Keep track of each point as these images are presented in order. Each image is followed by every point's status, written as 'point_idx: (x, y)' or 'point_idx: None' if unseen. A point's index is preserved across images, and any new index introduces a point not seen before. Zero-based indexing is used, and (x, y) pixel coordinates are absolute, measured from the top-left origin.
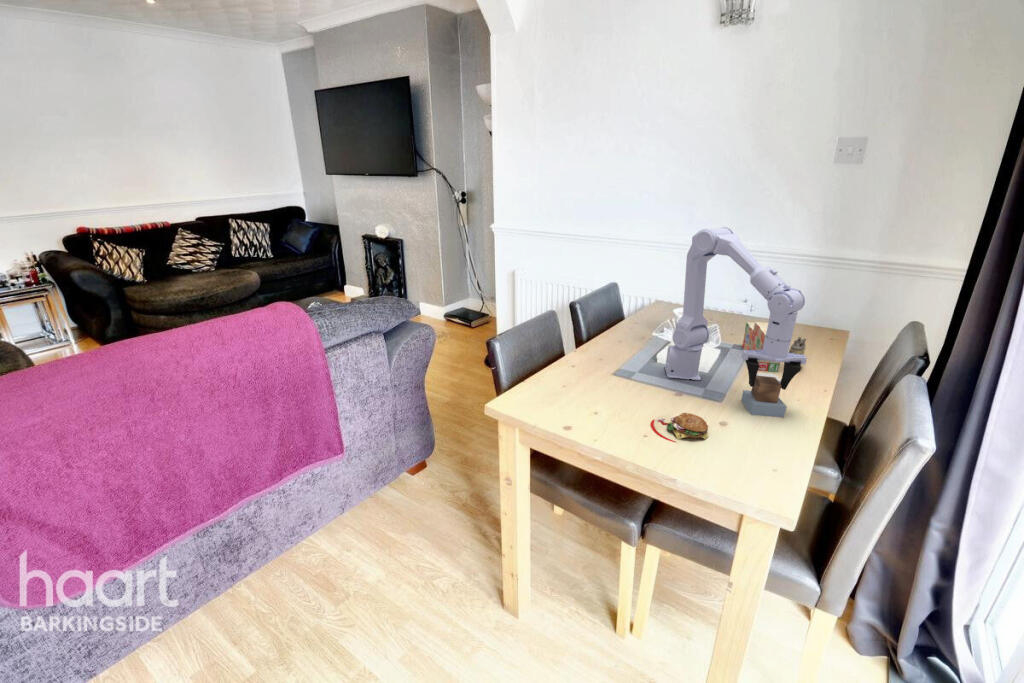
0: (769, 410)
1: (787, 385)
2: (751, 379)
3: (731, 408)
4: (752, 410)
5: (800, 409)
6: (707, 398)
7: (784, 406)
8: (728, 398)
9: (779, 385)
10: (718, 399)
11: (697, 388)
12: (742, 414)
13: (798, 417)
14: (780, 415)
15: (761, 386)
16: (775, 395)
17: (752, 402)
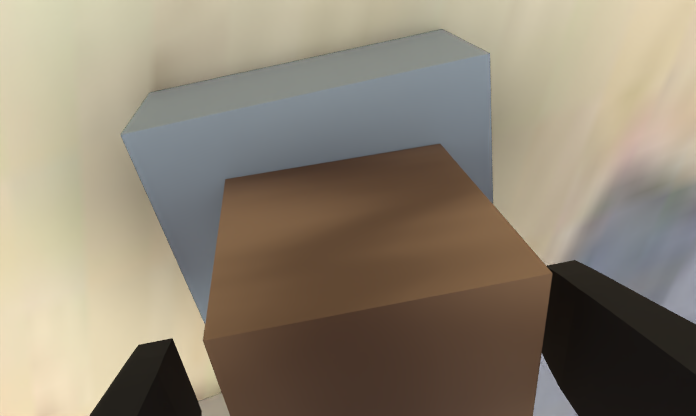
0: (298, 76)
1: (100, 400)
2: (682, 322)
3: (576, 96)
4: (457, 39)
5: (15, 292)
6: (693, 198)
7: (146, 129)
8: (541, 254)
9: (237, 333)
10: (619, 212)
11: (693, 310)
12: (519, 8)
13: (16, 139)
14: (183, 87)
15: (501, 248)
16: (262, 219)
17: (489, 95)
